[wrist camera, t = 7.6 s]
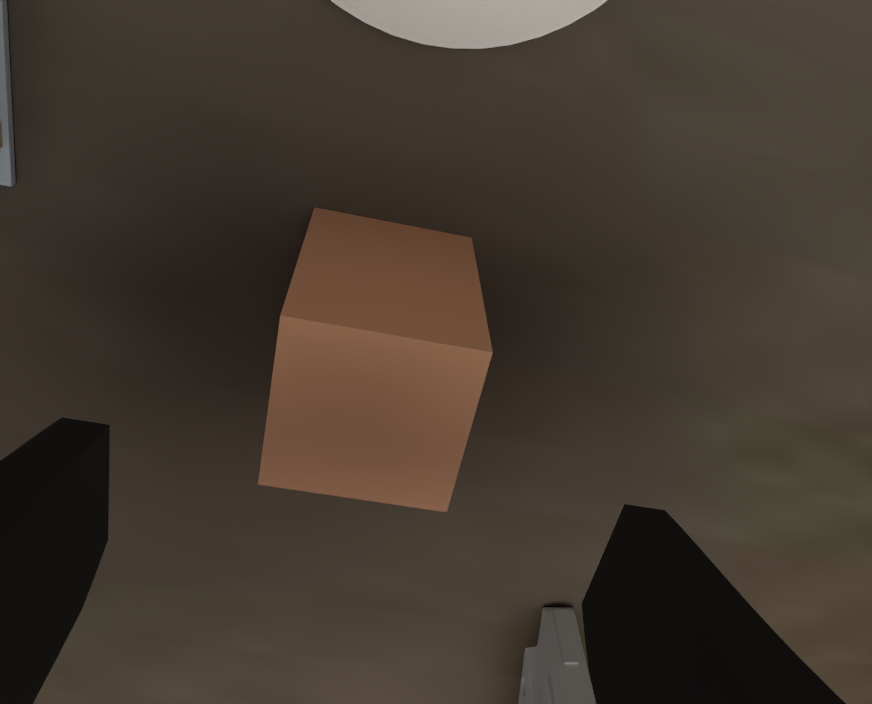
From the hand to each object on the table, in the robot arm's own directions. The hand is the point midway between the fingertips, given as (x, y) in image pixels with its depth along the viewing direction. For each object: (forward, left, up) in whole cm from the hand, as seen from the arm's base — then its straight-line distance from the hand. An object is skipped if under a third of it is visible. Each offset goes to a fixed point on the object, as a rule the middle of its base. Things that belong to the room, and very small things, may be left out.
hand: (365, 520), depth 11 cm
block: (0, 0, -8) cm, 8 cm away
